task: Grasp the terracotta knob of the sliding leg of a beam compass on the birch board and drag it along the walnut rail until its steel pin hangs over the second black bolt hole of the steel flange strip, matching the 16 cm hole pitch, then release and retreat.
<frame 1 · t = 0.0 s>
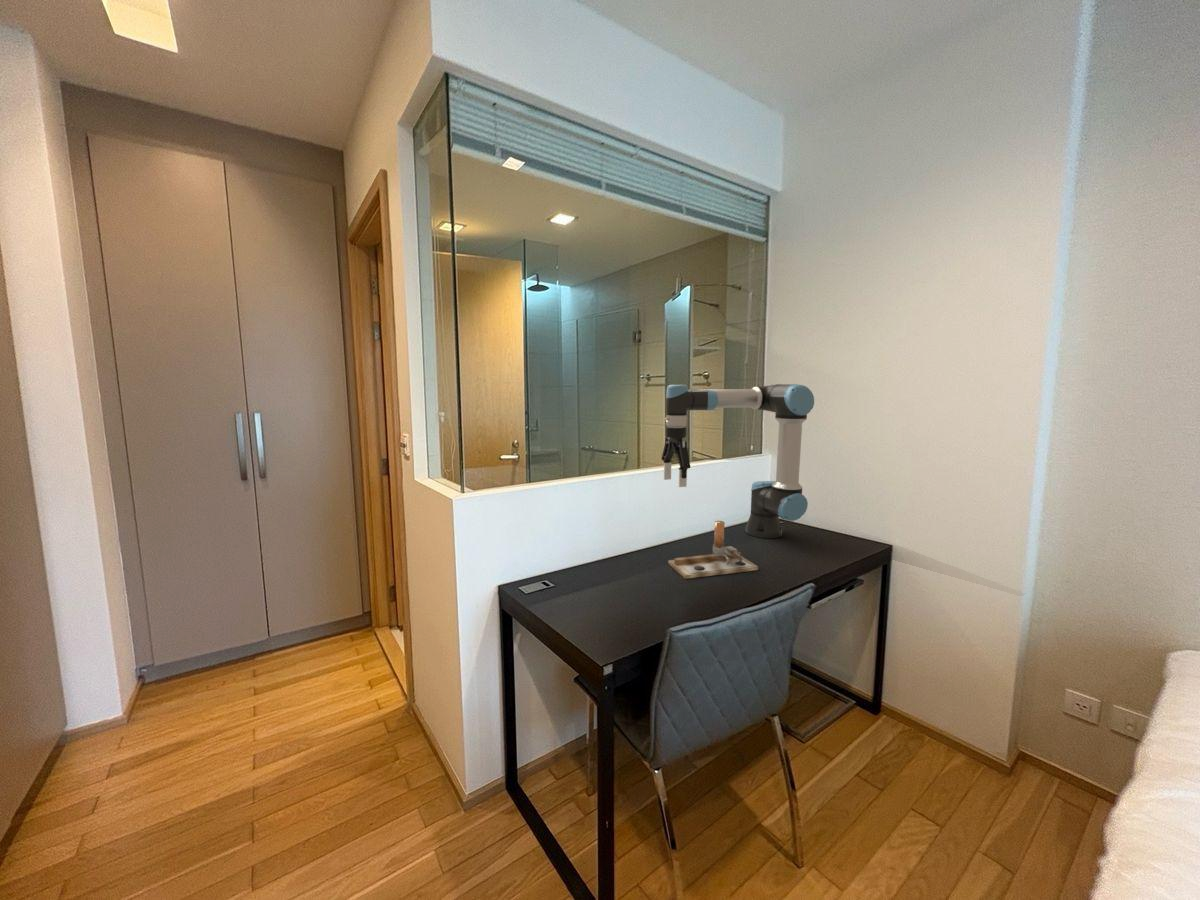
hand: (674, 483, 179), 28 cm above the table, fingers open, 13 cm apart
pitch board: (712, 566, 170), on the table
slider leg: (722, 542, 171), point 9 cm above the table, slide at 0.0 cm
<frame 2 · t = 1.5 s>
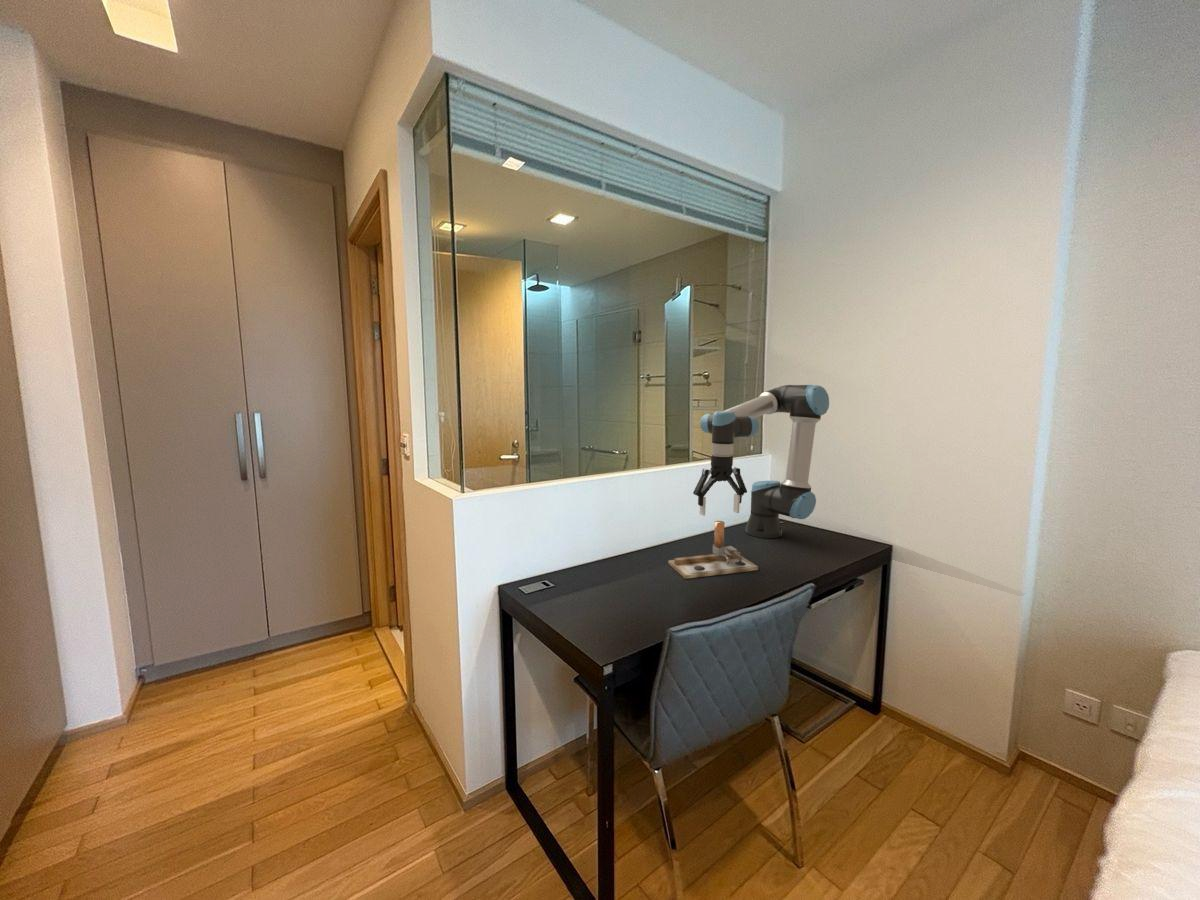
hand: (719, 513, 171), 19 cm above the table, fingers open, 13 cm apart
nothing on the table moved.
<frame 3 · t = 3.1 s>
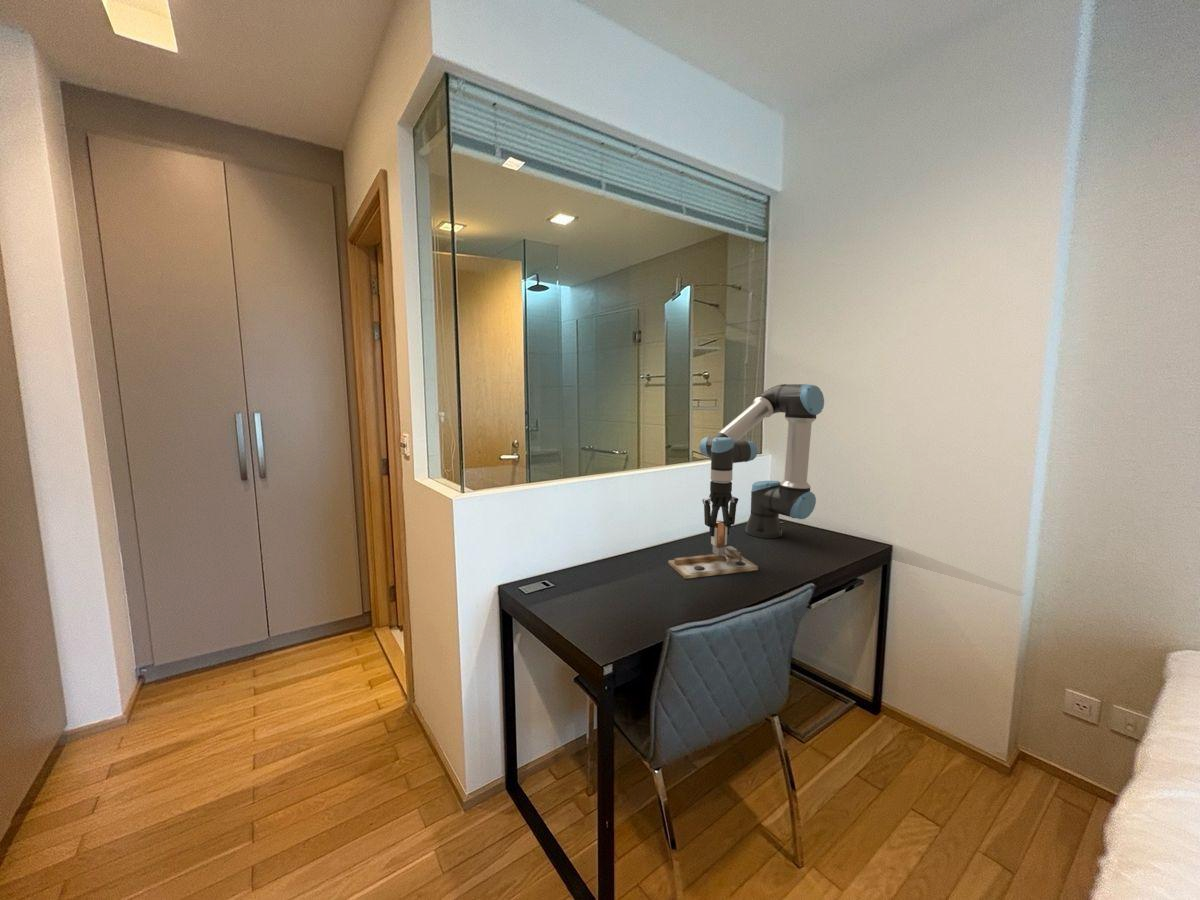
hand: (718, 543, 173), 7 cm above the table, fingers closed on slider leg, 3 cm apart
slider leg: (722, 542, 171), point 9 cm above the table, slide at 0.0 cm, touching gripper
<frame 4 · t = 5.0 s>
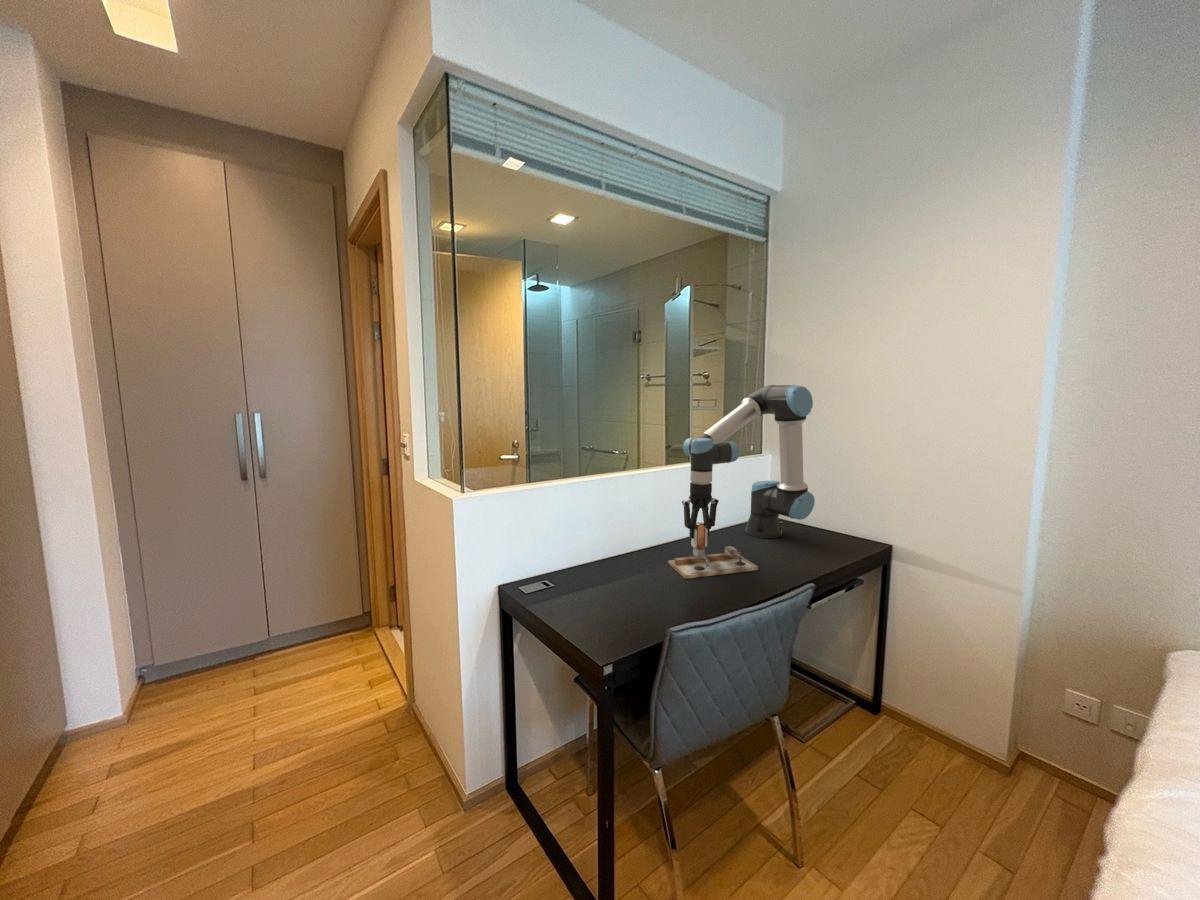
hand: (699, 545, 171), 7 cm above the table, fingers closed on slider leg, 3 cm apart
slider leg: (702, 544, 168), point 9 cm above the table, slide at 7.9 cm, touching gripper
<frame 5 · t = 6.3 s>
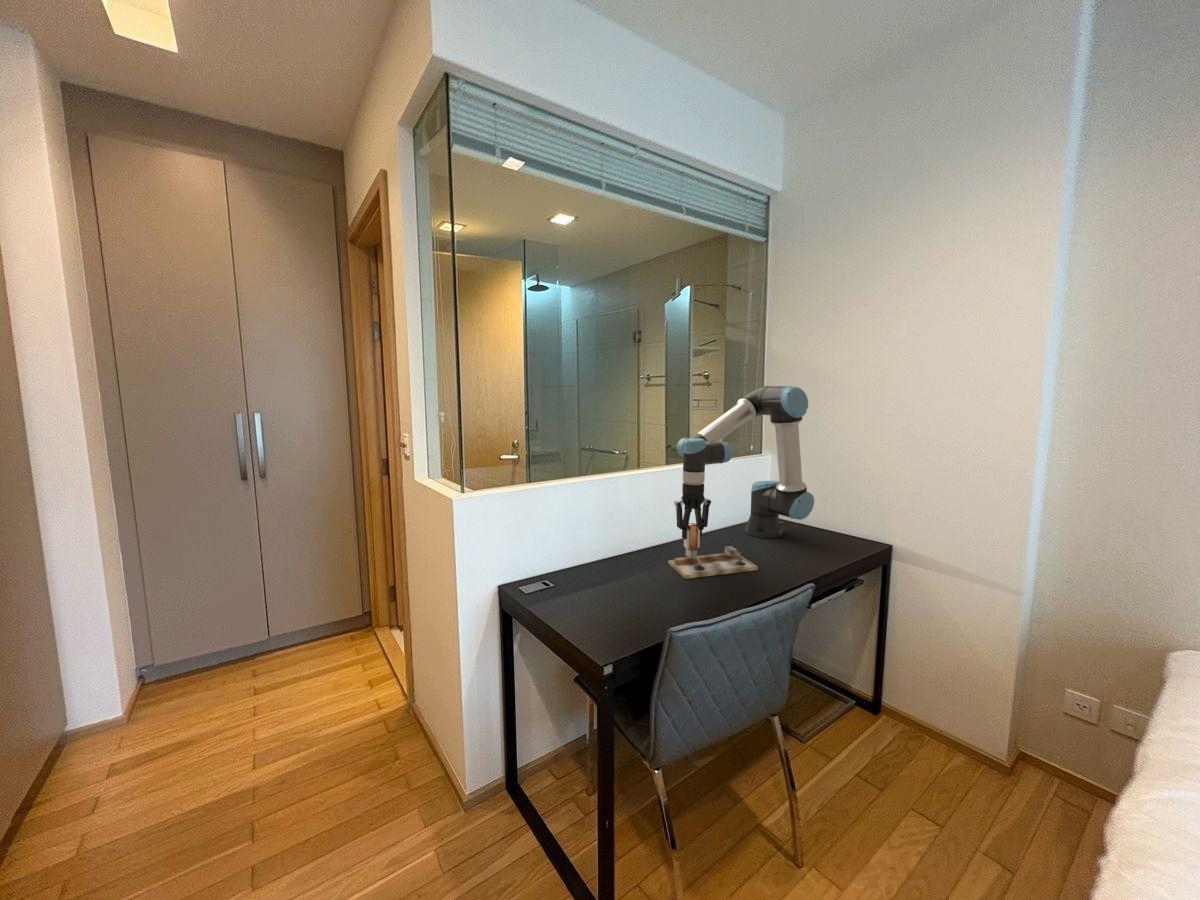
hand: (691, 546, 170), 7 cm above the table, fingers closed on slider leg, 3 cm apart
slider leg: (694, 544, 168), point 9 cm above the table, slide at 10.9 cm, touching gripper
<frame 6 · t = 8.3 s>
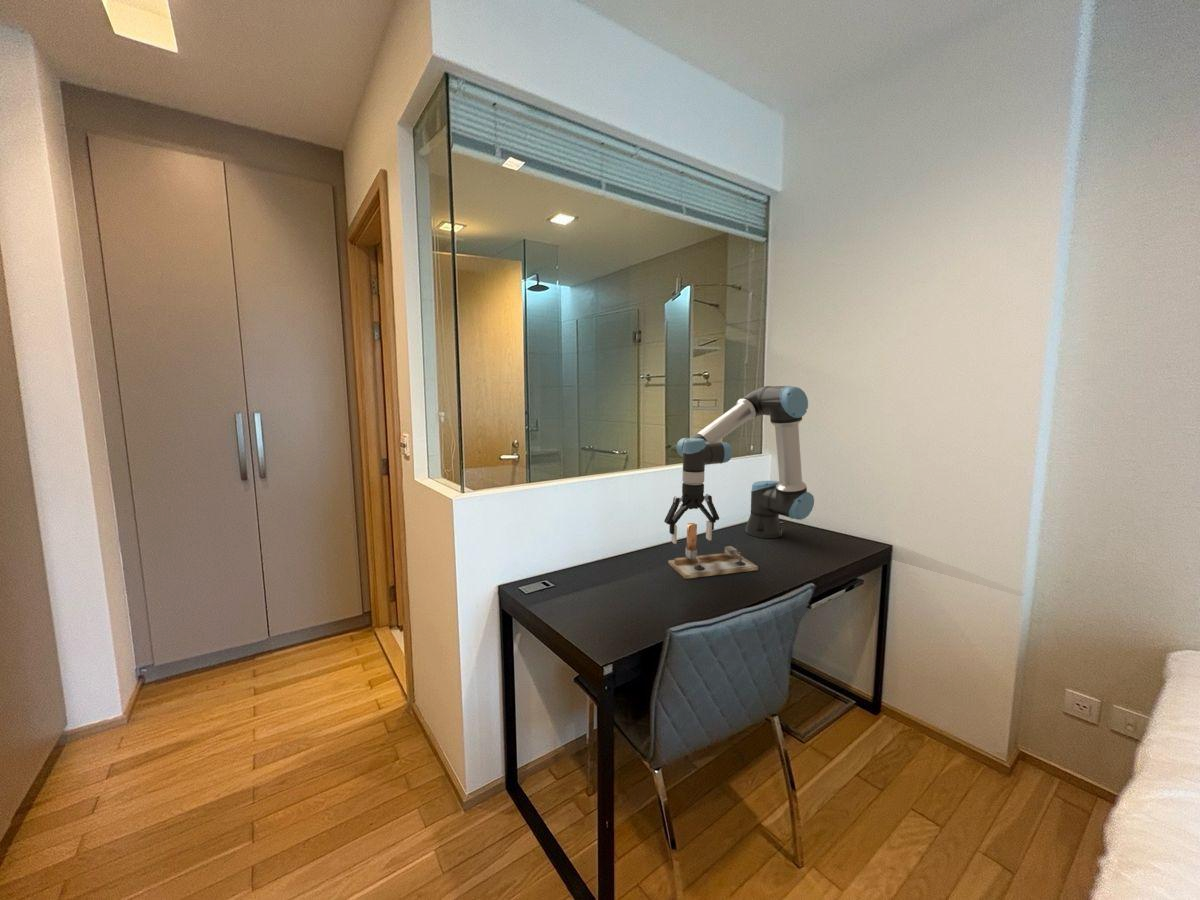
hand: (691, 541, 170), 9 cm above the table, fingers open, 13 cm apart
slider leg: (694, 544, 168), point 9 cm above the table, slide at 11.0 cm
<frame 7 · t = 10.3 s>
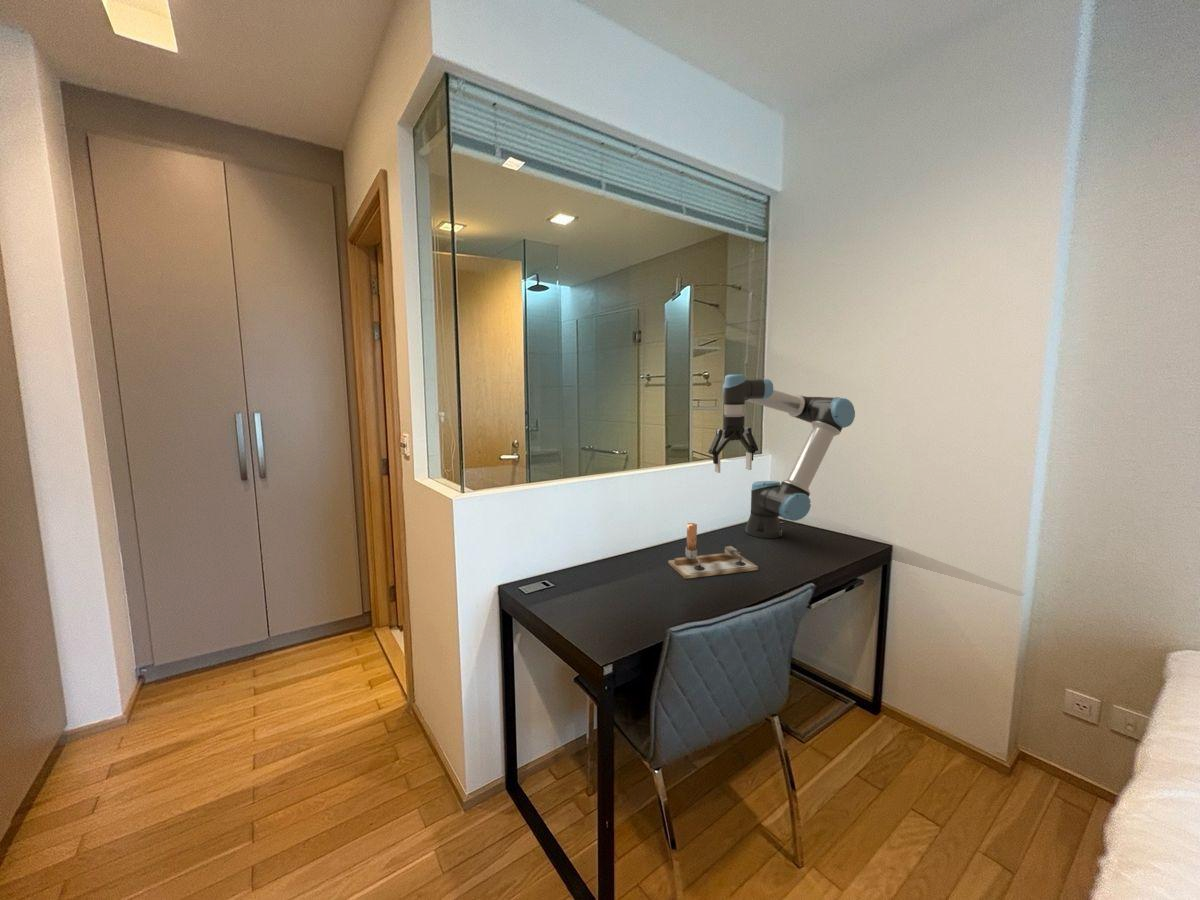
hand: (733, 470, 183), 32 cm above the table, fingers open, 13 cm apart
nothing on the table moved.
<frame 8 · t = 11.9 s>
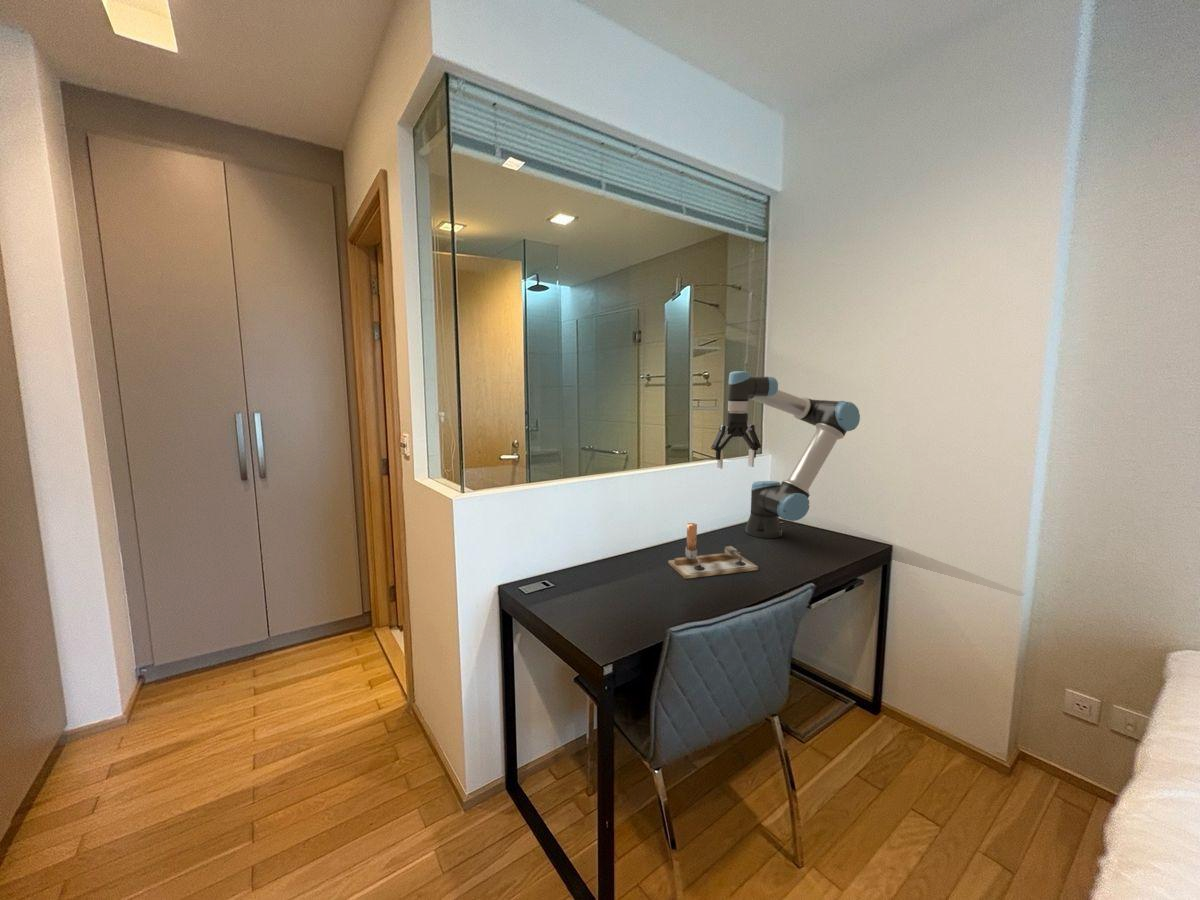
hand: (735, 467, 184), 33 cm above the table, fingers open, 13 cm apart
nothing on the table moved.
at the end: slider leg slide at 11.0 cm; the gripper is holding nothing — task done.
